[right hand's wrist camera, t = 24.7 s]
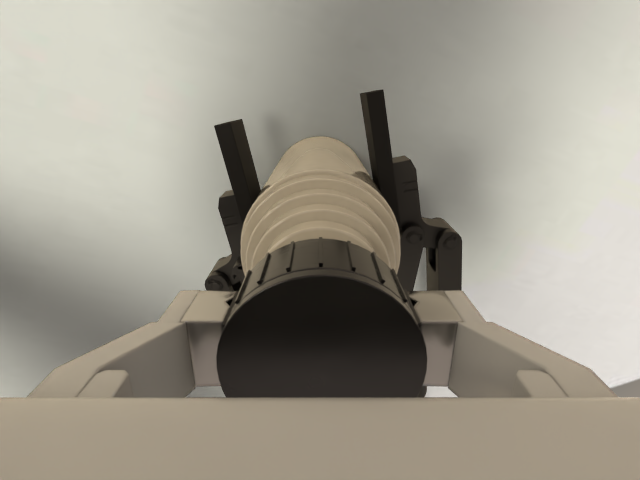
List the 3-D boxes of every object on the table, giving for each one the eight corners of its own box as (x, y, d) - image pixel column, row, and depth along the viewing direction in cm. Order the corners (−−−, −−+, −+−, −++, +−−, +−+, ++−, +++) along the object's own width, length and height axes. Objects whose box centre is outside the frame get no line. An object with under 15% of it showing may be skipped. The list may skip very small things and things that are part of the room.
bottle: (364, 134, 25) (467, 217, 8) (364, 223, 27) (443, 442, 10) (271, 138, 25) (165, 229, 8) (278, 226, 27) (209, 449, 10)
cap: (389, 394, 11) (403, 458, 9) (229, 377, 11) (209, 438, 9) (427, 249, 9) (455, 289, 7) (239, 224, 9) (218, 258, 7)
